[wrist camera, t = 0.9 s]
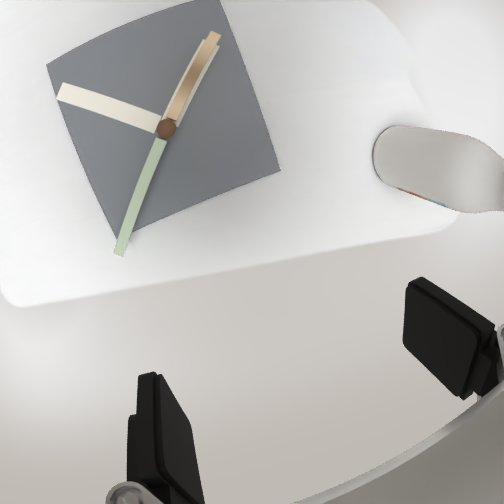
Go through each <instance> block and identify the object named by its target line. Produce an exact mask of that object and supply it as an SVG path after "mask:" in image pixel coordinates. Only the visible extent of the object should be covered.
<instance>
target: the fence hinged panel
mask: <svg viewBox="0 0 504 504" xmlns="http://www.w3.org/2000/svg"><path fill="white" fill-rule="evenodd" d="M167 141H168V140H166V139H163V138H161V137H156V139H155V141H154V143H153V146H152V148H151V151H150V153H149V155H148V158H147V160H146V163H145V165H144V167H143V170H142V172H141V175H140V178H139V180H138V183H137V185H136V188H135V191H134V193H133V196H132V199H131V201H130V204H129V207H128V210H127V213H126V216H125V218H124V221H123V224H122V227H121V230H120V233H119V236H118V240H117V243H116V246H115V249H114V252H113V253H114V254H117V255H119V256H122V257H123V256H124V253H125V250H126V247H127V244H128V241H129V238H130V235H131V232H132V229H133V227H134V224H135V221H136V218H137V215H138V213H139V210H140V207H141V204H142V202H143V199H144V197H145V194H146V191H147V189H148V186H149V184H150V181H151V179H152V176H153V174H154V171H155V169H156V166H157V164H158V162H159V159H160V157H161V155H162V152H163V150H164V148H165V145H166V143H167Z"/></svg>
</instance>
